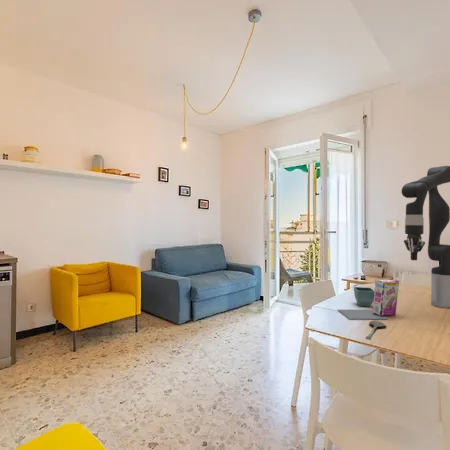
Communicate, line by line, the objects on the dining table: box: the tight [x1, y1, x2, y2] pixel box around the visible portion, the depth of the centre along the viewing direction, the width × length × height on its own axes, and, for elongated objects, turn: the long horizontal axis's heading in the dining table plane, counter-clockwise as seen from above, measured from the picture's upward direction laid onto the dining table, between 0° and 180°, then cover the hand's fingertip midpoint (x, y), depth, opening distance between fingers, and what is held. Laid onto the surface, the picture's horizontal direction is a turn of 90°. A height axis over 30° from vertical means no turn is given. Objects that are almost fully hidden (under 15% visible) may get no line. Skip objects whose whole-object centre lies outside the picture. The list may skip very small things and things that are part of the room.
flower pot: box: [353, 286, 375, 307], centre depth 159 cm, size 9×9×9 cm
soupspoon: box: [365, 320, 387, 341], centre depth 122 cm, size 22×3×7 cm
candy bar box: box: [372, 279, 400, 317], centre depth 142 cm, size 11×5×16 cm, turn 116°
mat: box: [337, 309, 389, 321], centre depth 142 cm, size 18×14×1 cm
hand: (413, 260), depth 142 cm, fingers closed
